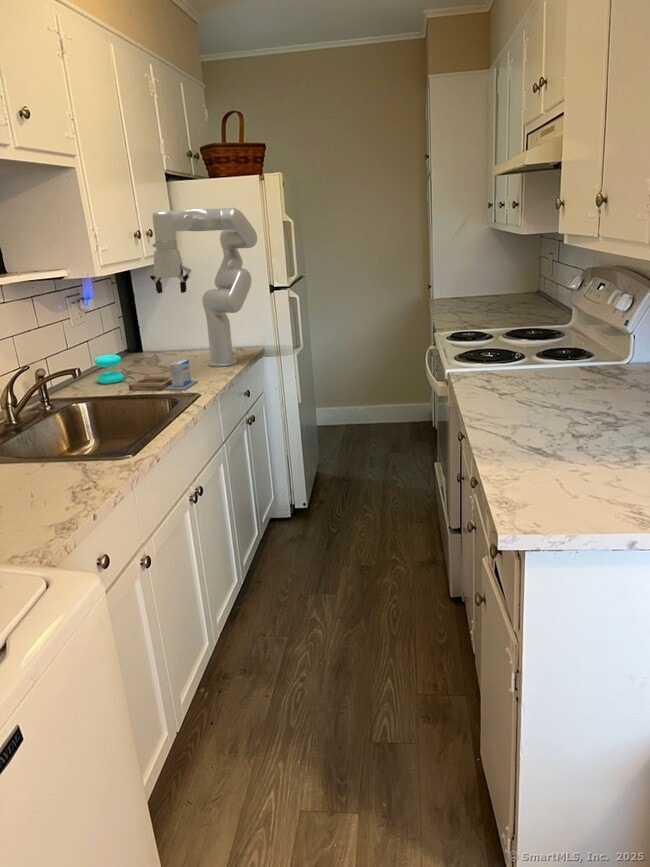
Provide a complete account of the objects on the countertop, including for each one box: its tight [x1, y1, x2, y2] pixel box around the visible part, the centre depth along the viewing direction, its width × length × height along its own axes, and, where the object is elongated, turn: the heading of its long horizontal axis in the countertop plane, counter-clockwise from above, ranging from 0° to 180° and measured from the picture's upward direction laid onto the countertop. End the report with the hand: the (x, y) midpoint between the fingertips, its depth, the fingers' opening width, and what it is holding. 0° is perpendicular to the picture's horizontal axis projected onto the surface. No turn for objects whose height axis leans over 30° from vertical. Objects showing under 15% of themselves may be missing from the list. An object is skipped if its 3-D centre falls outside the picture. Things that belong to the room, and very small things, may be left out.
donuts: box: [94, 354, 125, 385], centre depth 256 cm, size 10×10×10 cm
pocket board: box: [128, 375, 172, 392], centre depth 247 cm, size 14×13×2 cm
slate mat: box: [164, 380, 199, 391], centre depth 245 cm, size 12×8×1 cm, turn 168°
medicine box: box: [169, 359, 192, 387], centre depth 244 cm, size 8×4×9 cm, turn 169°
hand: (171, 292), depth 248 cm, fingers open, 9 cm apart
